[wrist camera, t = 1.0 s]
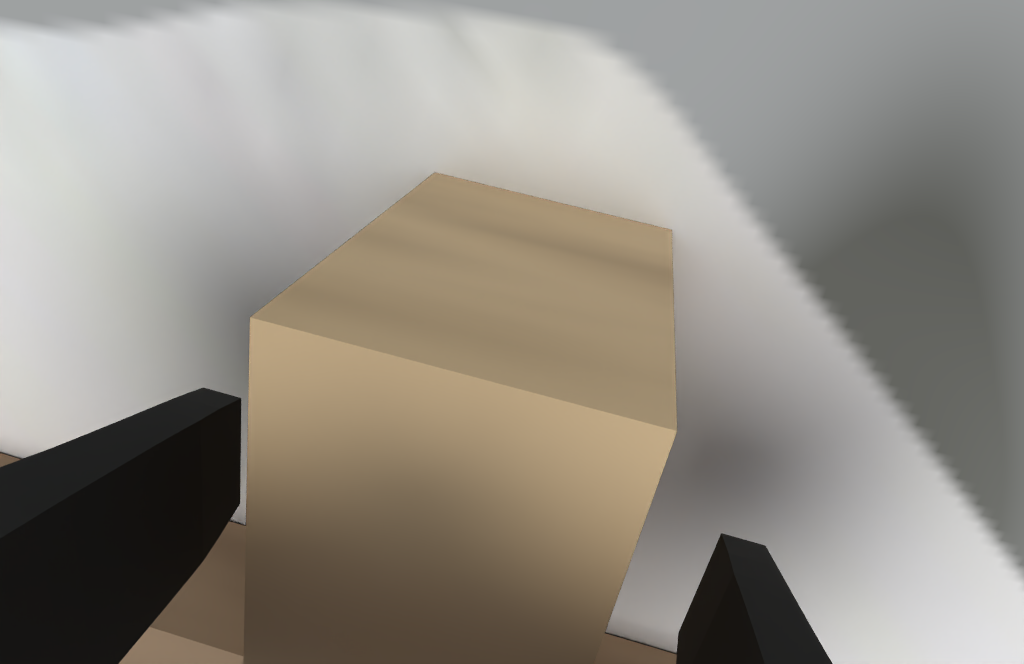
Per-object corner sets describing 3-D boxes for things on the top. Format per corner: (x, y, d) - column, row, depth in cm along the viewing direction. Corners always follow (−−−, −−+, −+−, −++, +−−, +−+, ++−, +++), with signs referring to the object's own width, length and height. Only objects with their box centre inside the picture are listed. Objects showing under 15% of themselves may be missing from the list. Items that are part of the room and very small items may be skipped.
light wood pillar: (519, 726, 17) (455, 1047, 12) (365, 678, 18) (237, 970, 12) (672, 228, 12) (677, 430, 6) (435, 171, 12) (249, 316, 7)
